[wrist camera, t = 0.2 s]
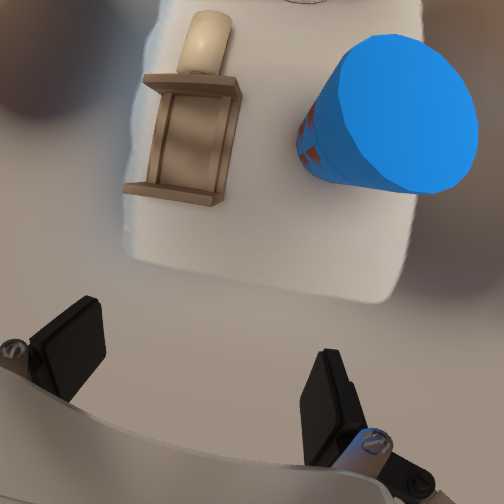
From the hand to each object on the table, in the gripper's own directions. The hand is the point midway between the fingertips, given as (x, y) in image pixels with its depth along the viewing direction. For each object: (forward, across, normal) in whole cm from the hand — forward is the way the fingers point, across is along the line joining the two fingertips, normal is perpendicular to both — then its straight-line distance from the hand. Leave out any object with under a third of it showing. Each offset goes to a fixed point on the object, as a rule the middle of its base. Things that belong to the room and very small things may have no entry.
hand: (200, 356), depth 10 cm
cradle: (+31, +11, -11) cm, 34 cm away
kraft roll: (+31, +11, -26) cm, 42 cm away
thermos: (+31, -9, -14) cm, 35 cm away
